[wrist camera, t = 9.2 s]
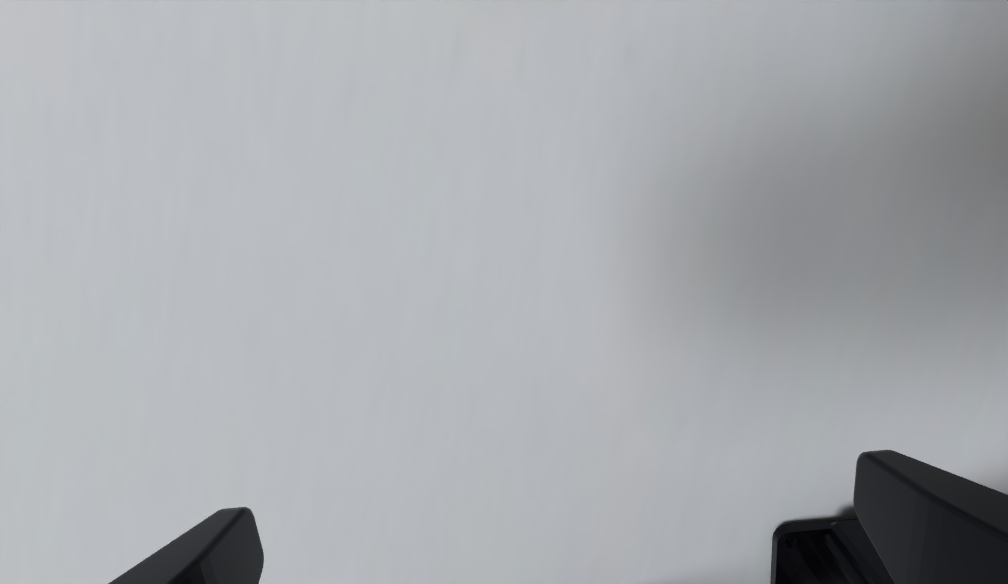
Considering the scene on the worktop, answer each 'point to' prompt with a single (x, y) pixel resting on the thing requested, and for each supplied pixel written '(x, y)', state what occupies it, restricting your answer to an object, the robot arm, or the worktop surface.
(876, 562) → the robot arm
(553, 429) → the worktop surface
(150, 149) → the worktop surface
